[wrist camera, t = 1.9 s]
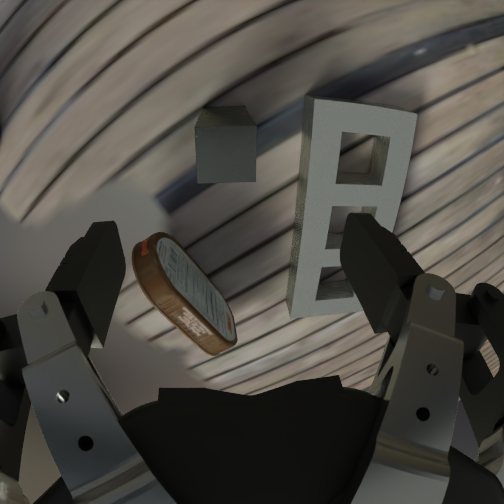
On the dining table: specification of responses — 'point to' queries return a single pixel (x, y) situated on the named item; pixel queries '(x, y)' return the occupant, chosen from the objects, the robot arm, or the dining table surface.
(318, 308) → the rail
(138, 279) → the tin
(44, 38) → the dining table surface
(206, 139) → the square peg
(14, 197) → the dining table surface
